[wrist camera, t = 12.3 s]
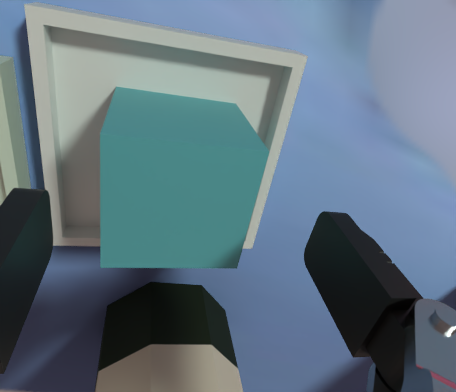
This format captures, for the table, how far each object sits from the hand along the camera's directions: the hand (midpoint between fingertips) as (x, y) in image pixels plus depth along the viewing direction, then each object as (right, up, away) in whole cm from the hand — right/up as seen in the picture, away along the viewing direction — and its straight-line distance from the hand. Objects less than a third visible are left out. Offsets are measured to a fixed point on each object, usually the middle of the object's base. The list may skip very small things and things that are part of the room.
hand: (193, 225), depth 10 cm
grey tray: (-2, +3, +6) cm, 7 cm away
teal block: (-1, +3, +5) cm, 6 cm away
